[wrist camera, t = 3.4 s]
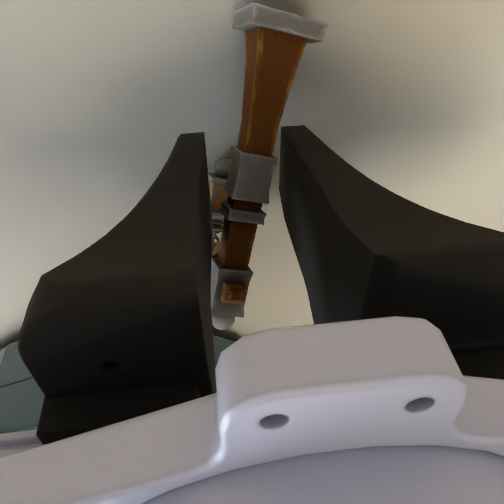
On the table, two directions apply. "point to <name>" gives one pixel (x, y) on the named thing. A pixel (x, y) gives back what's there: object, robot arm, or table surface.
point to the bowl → (35, 389)
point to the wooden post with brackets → (252, 149)
